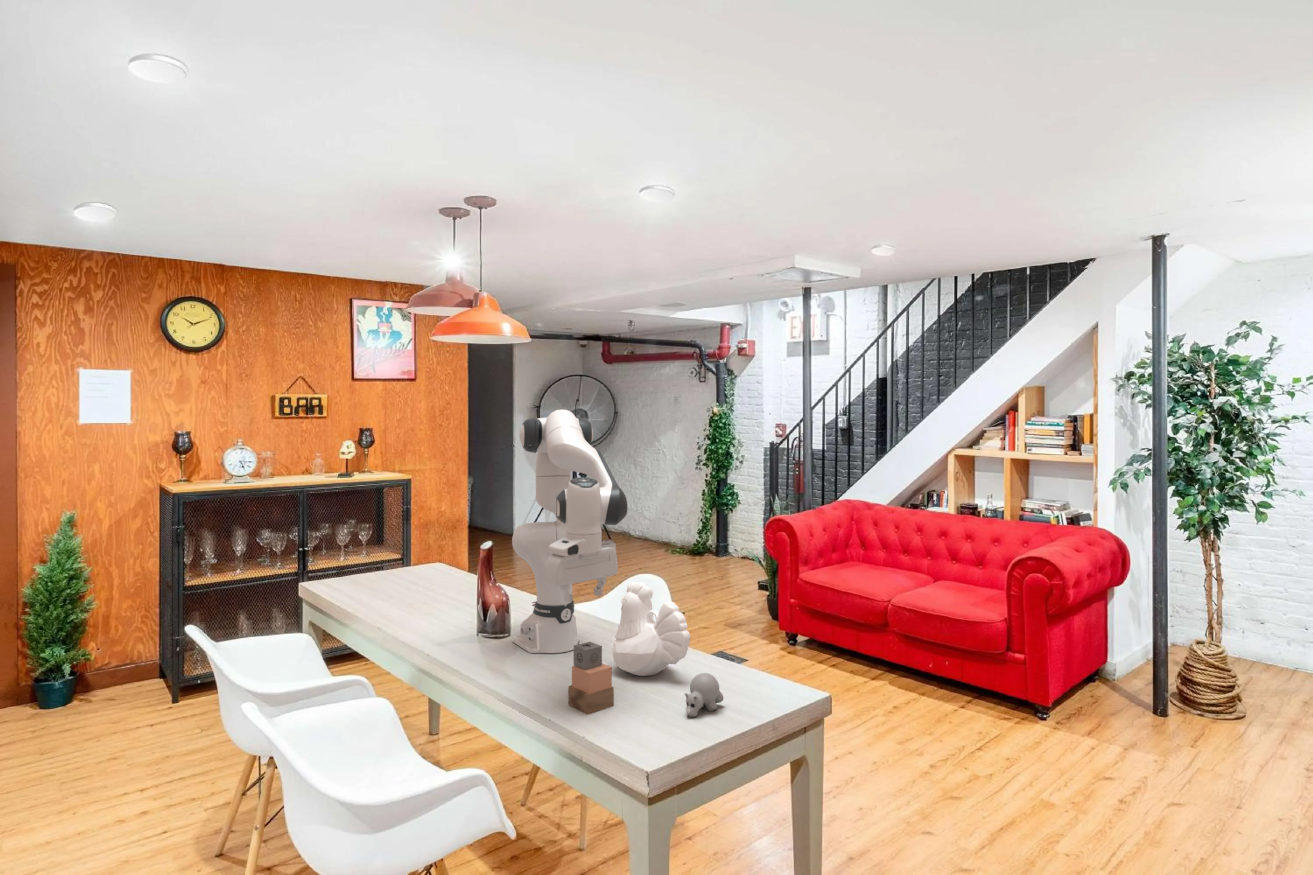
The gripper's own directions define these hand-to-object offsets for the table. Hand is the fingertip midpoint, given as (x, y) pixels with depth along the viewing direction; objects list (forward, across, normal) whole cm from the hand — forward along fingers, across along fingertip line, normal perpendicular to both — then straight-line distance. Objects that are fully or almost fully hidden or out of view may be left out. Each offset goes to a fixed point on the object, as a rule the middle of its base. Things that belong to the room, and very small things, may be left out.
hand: (583, 598), depth 191 cm
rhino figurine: (+26, -17, +25) cm, 40 cm away
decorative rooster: (+27, -26, -2) cm, 37 cm away
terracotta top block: (+22, 0, +4) cm, 22 cm away
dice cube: (+17, 0, +2) cm, 17 cm away
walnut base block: (+26, 0, +4) cm, 27 cm away
